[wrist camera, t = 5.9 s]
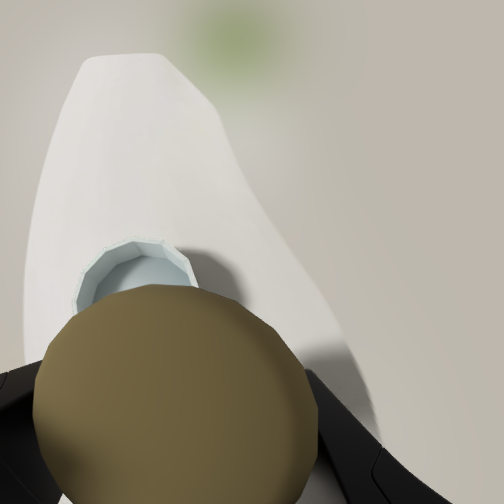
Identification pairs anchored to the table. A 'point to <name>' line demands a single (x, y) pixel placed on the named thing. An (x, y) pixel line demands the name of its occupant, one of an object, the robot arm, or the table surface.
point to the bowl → (131, 270)
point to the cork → (174, 403)
